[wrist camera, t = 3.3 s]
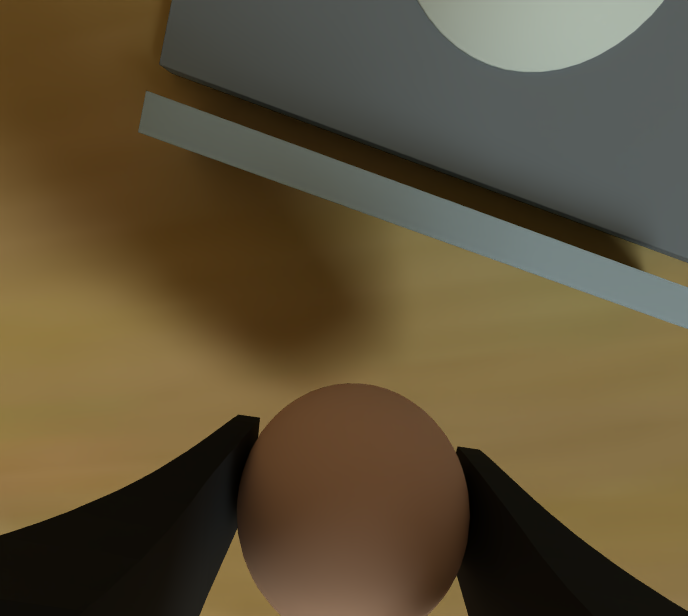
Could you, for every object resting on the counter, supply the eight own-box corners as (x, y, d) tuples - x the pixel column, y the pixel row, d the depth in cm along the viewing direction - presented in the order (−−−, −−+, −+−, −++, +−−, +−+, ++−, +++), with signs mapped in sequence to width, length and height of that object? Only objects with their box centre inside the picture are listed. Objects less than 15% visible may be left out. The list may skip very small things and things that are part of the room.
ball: (471, 386, 12) (562, 534, 6) (404, 528, 13) (434, 747, 8) (296, 327, 12) (243, 430, 6) (246, 478, 13) (167, 668, 8)
